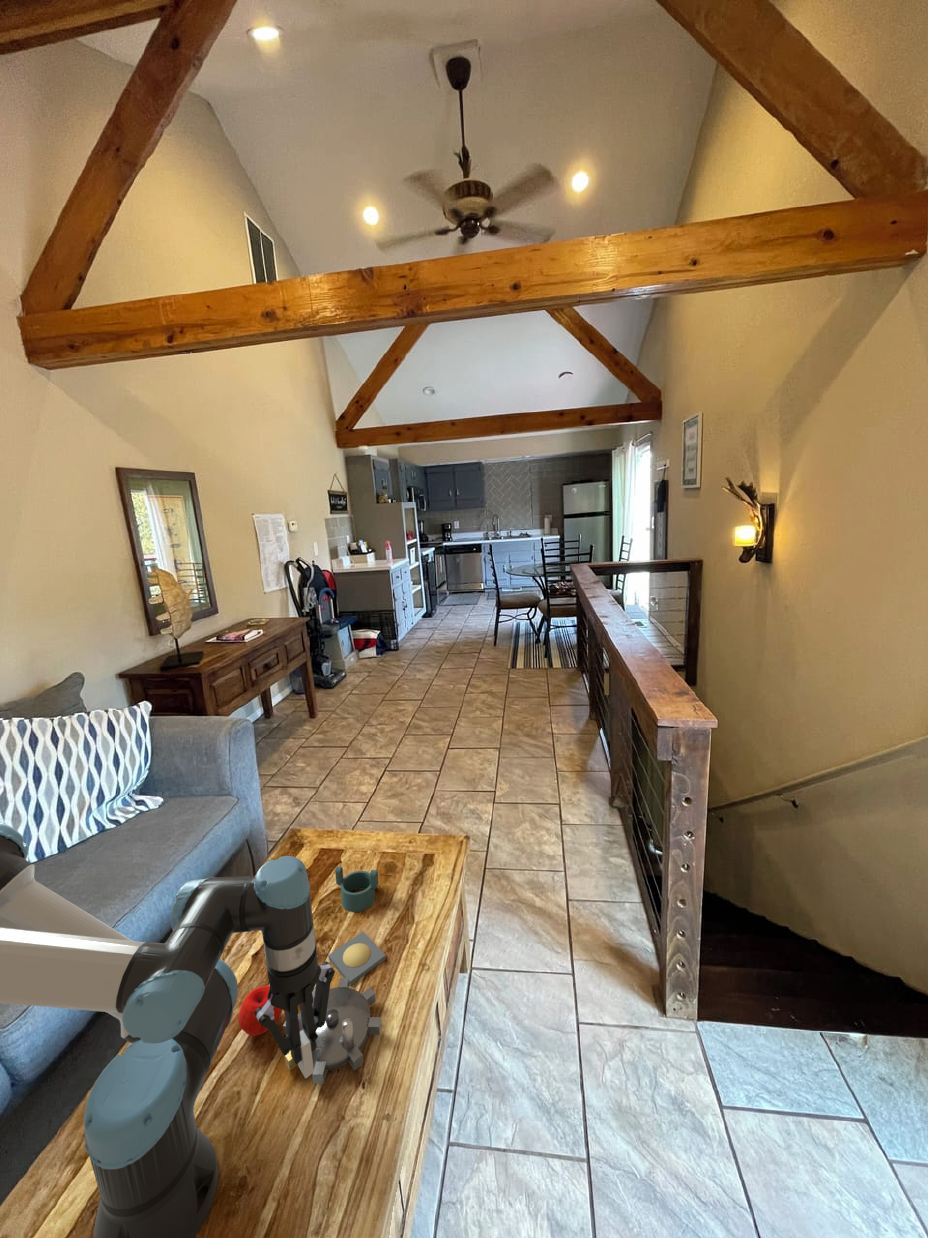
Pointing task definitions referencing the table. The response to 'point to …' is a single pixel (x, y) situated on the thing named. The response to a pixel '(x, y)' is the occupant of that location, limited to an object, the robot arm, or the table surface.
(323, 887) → the table surface
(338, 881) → the bracket
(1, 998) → the robot arm
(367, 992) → the sprocket
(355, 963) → the seat
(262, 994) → the apple
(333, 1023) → the hub
